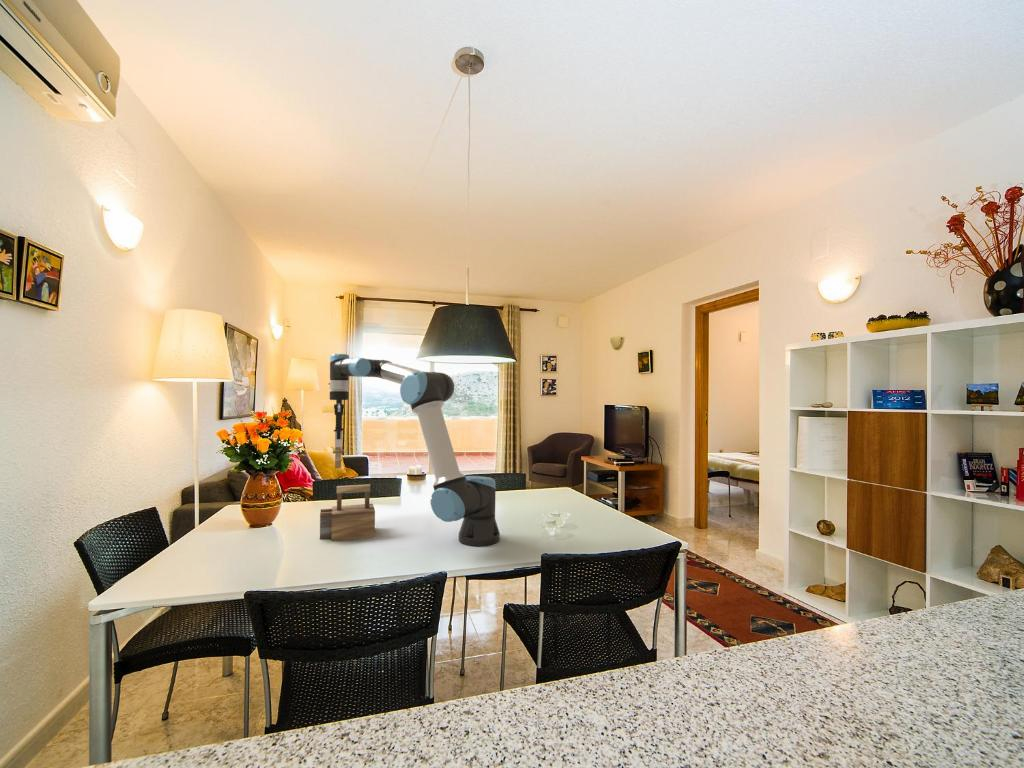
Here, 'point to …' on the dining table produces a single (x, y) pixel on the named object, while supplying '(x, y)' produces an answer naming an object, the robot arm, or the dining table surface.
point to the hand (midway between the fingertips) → (338, 446)
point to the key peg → (338, 456)
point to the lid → (350, 510)
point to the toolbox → (347, 527)
